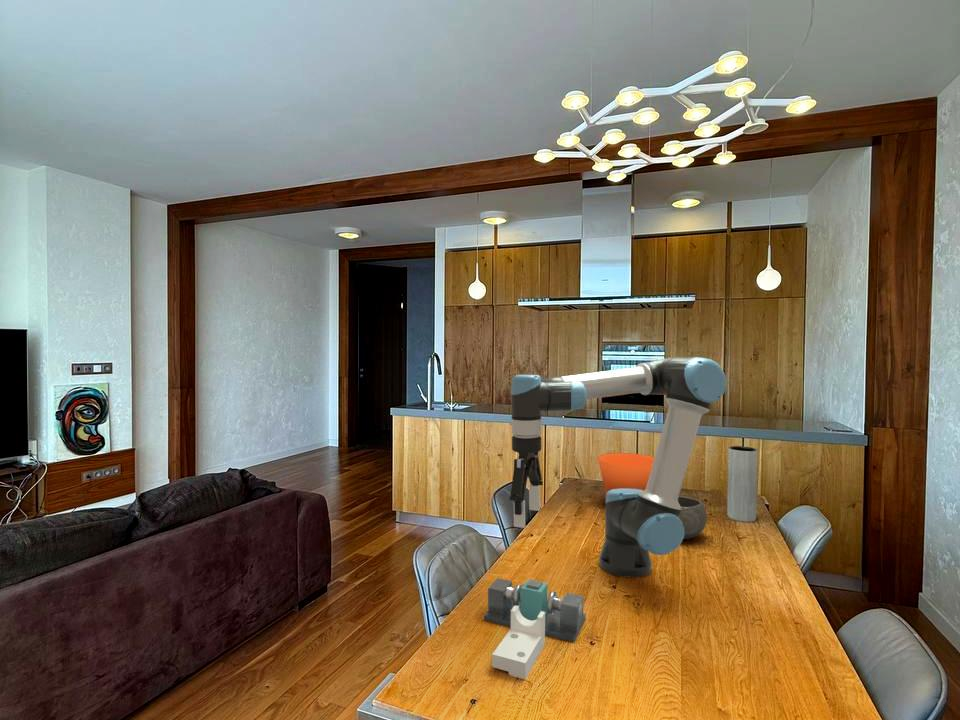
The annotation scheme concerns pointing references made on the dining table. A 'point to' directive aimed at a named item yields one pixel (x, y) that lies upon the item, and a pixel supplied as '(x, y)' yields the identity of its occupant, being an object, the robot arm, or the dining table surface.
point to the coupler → (533, 599)
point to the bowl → (692, 516)
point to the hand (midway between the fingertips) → (527, 518)
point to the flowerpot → (625, 470)
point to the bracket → (520, 645)
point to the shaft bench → (560, 616)
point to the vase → (742, 483)
